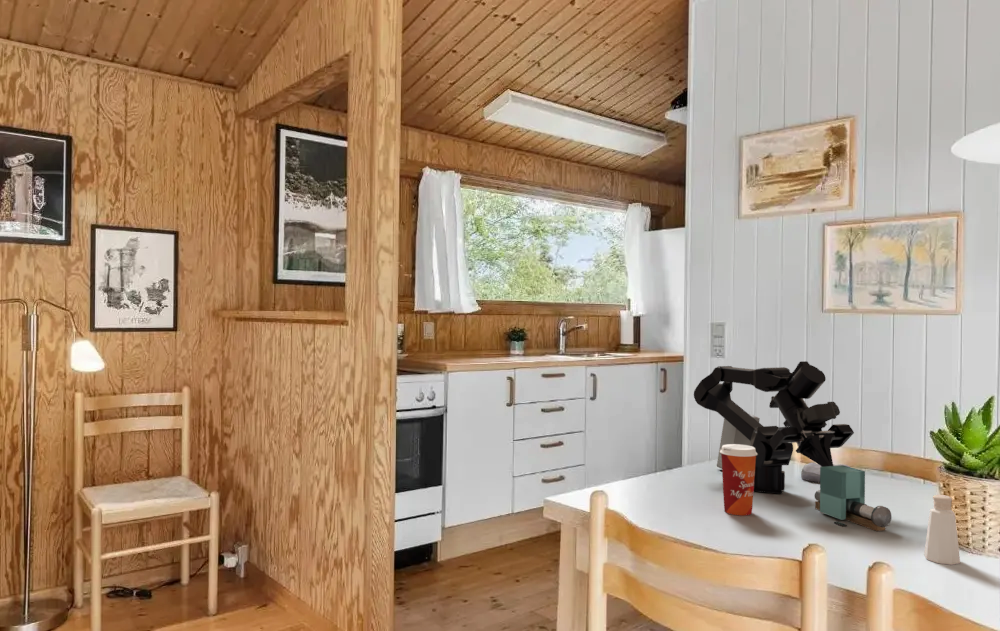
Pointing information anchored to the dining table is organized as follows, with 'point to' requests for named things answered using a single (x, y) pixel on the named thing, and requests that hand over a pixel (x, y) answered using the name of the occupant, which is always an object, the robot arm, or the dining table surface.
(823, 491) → the teal notched block
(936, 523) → the pepper shaker
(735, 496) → the paper cup
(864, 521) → the pipe rig
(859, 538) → the dining table surface
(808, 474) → the stone block
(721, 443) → the skincare box
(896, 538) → the dining table surface
